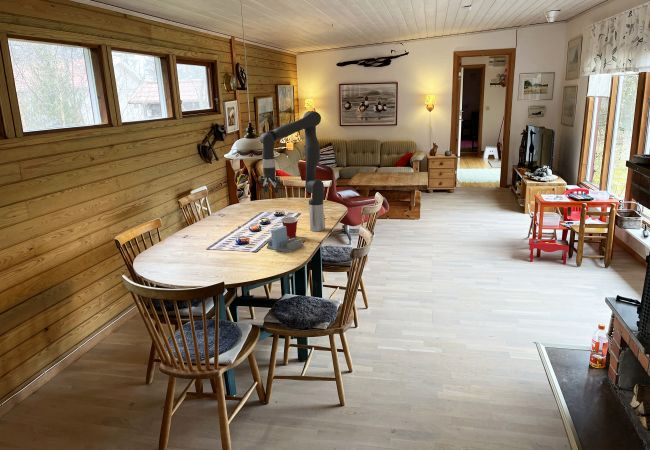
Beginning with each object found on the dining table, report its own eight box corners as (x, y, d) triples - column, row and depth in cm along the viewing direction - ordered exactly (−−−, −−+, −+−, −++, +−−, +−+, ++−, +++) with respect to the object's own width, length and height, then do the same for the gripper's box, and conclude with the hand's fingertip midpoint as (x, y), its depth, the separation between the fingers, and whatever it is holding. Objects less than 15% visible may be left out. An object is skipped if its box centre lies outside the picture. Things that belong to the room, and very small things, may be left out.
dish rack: (282, 242, 285) (282, 235, 284) (303, 245, 276) (303, 238, 275) (266, 248, 274) (266, 241, 273) (287, 252, 265) (287, 244, 264)
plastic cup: (284, 240, 287) (282, 221, 284) (280, 236, 298) (279, 217, 295) (301, 238, 290) (300, 219, 287) (297, 234, 300) (296, 216, 297)
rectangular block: (284, 244, 276) (282, 225, 273) (287, 244, 274) (286, 226, 271) (272, 248, 268) (271, 230, 265) (275, 249, 266) (274, 230, 264)
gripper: (281, 166, 285) (283, 192, 290) (264, 165, 294) (266, 190, 298) (273, 167, 280) (275, 194, 284) (256, 166, 288) (258, 193, 292)
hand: (271, 192), depth 291 cm, fingers open, 8 cm apart
